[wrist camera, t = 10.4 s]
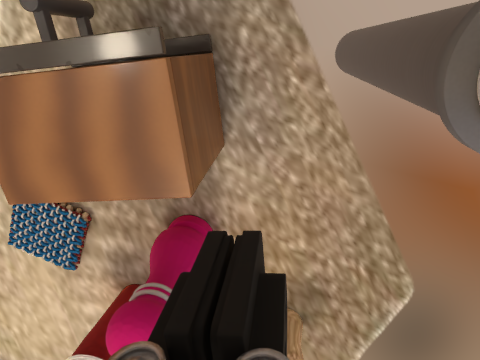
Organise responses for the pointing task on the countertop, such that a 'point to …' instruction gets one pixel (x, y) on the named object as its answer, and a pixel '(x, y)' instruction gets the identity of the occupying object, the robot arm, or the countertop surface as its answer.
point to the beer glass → (294, 335)
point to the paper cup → (101, 331)
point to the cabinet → (108, 118)
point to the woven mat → (50, 232)
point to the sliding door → (63, 4)
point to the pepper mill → (157, 281)
